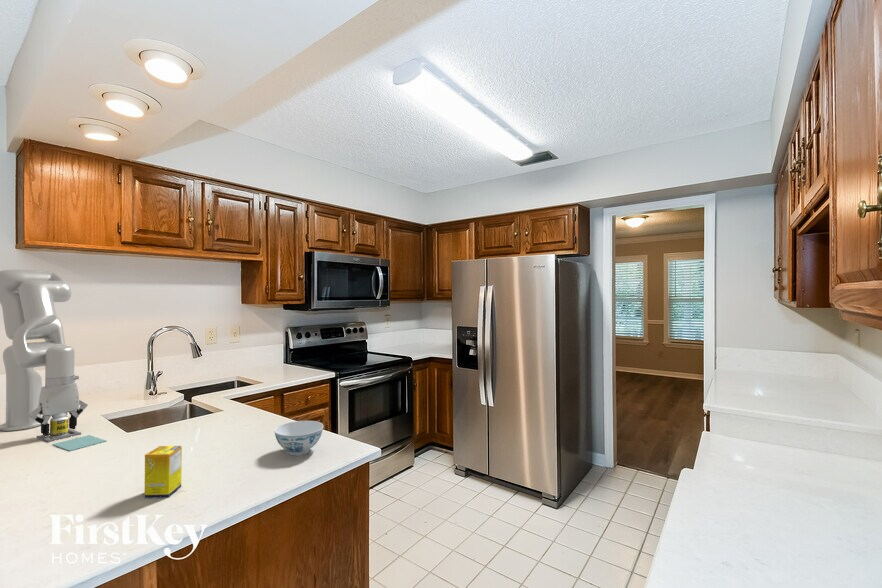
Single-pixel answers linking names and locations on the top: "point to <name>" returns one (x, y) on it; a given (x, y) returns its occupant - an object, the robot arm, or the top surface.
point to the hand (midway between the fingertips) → (59, 431)
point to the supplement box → (163, 471)
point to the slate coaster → (59, 437)
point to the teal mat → (79, 443)
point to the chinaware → (298, 436)
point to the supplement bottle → (59, 425)
